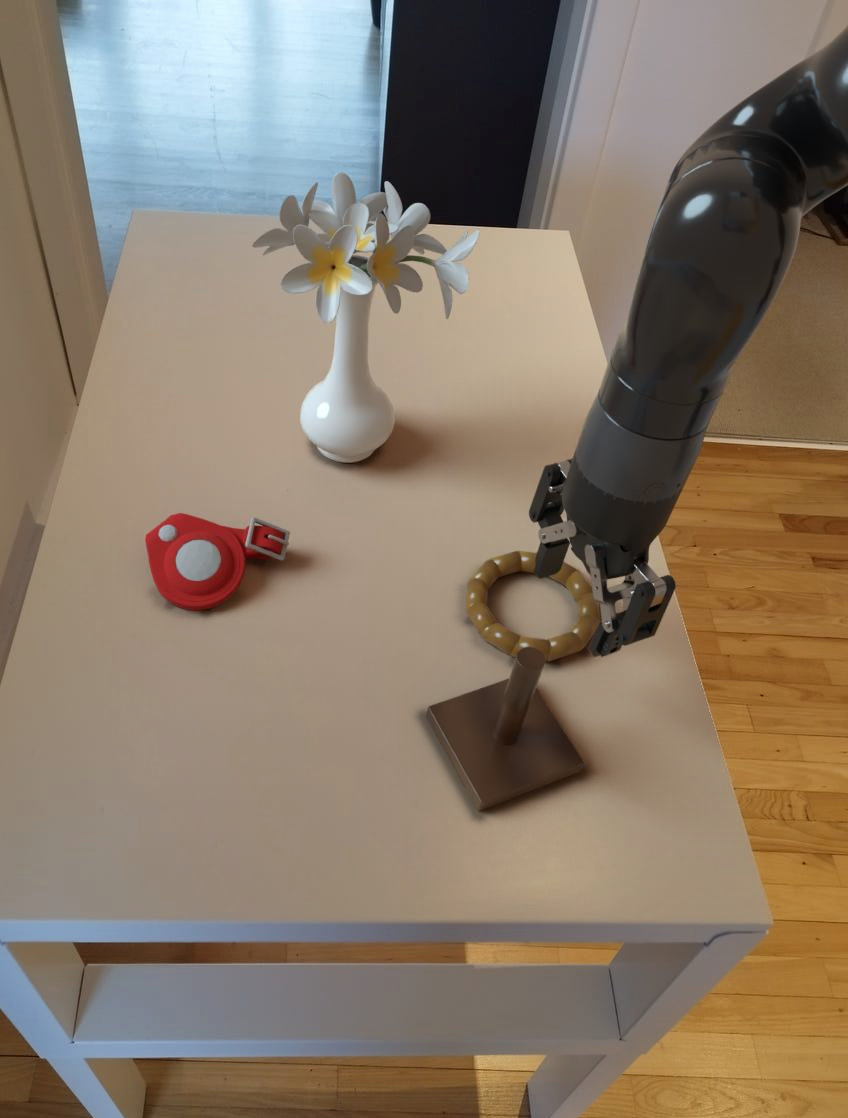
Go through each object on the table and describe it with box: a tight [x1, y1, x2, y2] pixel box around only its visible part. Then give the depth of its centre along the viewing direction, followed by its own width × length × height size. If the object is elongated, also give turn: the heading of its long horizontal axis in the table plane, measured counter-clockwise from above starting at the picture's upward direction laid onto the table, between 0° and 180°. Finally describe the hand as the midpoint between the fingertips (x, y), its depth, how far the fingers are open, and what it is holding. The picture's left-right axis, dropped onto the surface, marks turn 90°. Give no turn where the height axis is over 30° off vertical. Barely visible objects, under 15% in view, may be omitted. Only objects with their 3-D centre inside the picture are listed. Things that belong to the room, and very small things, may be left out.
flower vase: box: [252, 171, 481, 464], centre depth 82 cm, size 13×18×25 cm
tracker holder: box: [144, 512, 291, 611], centre depth 80 cm, size 12×4×10 cm
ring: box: [465, 550, 601, 662], centre depth 79 cm, size 12×12×2 cm
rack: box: [425, 647, 585, 812], centre depth 67 cm, size 9×9×12 cm
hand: (572, 610), depth 73 cm, fingers open, 8 cm apart
